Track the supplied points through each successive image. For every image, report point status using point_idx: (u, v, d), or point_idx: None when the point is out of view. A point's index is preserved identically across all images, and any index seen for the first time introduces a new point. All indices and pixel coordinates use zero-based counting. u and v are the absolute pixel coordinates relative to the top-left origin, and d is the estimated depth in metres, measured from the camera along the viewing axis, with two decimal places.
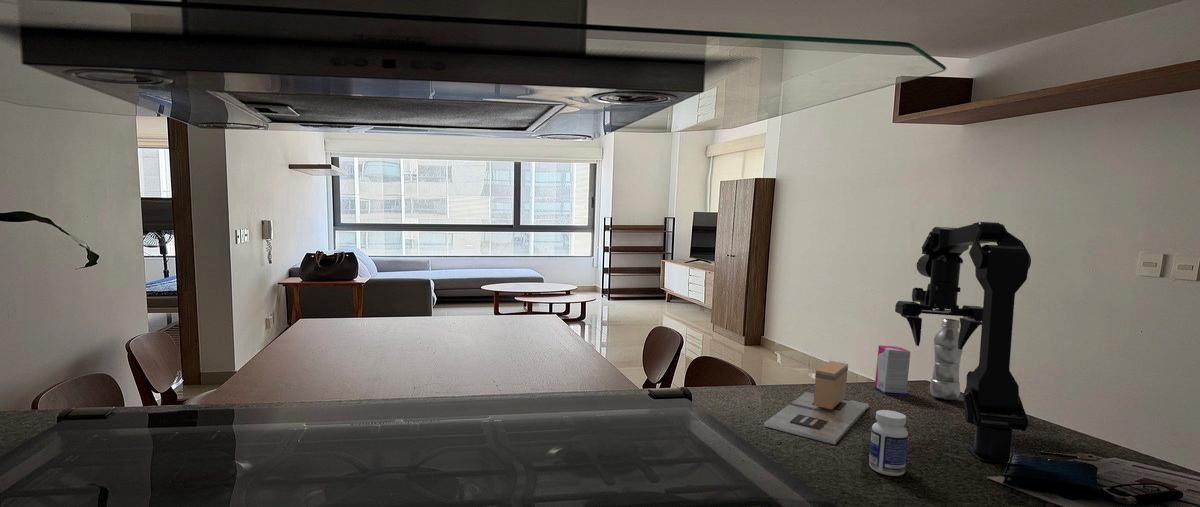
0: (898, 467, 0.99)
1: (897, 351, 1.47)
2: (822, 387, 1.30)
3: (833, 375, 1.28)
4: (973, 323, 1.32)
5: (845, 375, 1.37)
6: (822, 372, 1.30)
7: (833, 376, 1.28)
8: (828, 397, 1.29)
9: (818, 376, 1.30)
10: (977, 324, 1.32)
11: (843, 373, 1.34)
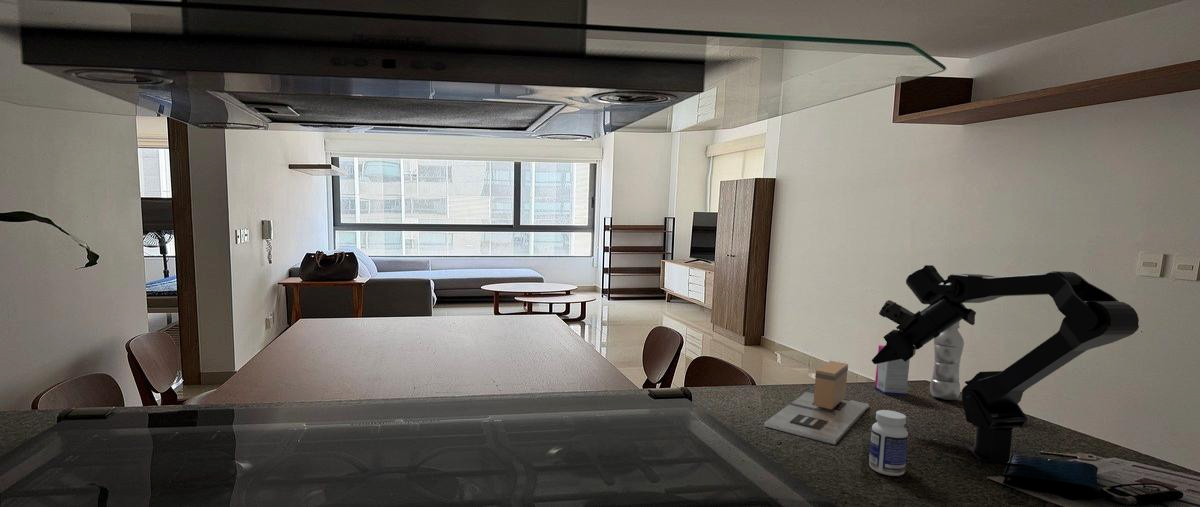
0: (898, 467, 0.99)
1: None
2: (822, 387, 1.30)
3: (833, 375, 1.28)
4: None
5: (845, 375, 1.37)
6: (822, 372, 1.30)
7: (833, 376, 1.28)
8: (828, 397, 1.29)
9: (818, 376, 1.30)
10: None
11: (843, 373, 1.34)
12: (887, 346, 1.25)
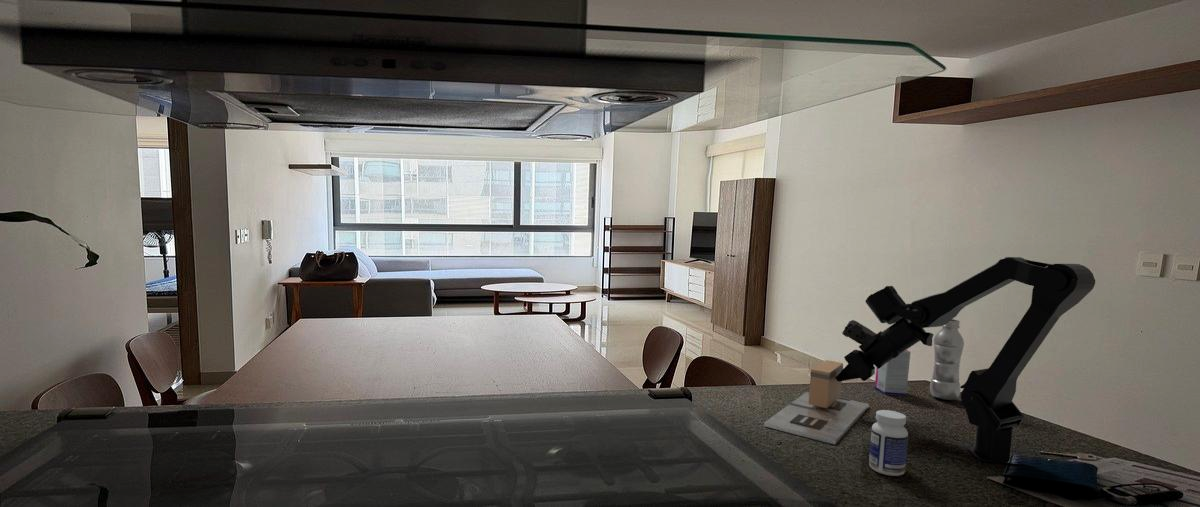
0: (898, 467, 0.99)
1: None
2: (817, 386, 1.30)
3: (828, 374, 1.29)
4: None
5: None
6: (817, 371, 1.30)
7: (828, 375, 1.29)
8: (823, 396, 1.30)
9: (813, 375, 1.31)
10: None
11: (838, 372, 1.35)
12: (849, 365, 1.30)
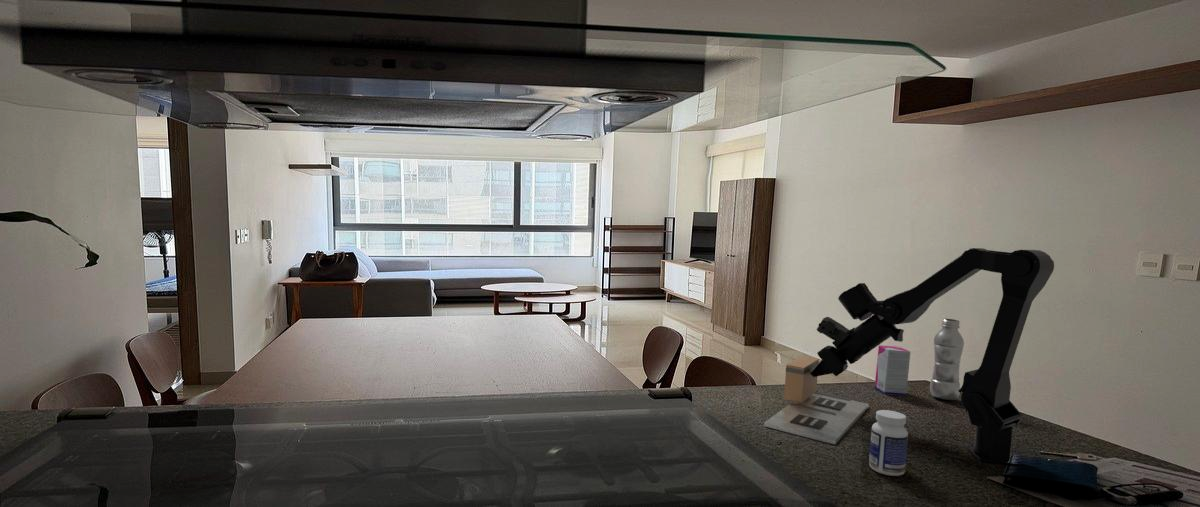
0: (898, 467, 0.99)
1: (897, 351, 1.47)
2: (792, 381, 1.33)
3: (802, 369, 1.32)
4: None
5: None
6: (792, 366, 1.33)
7: (802, 370, 1.32)
8: (797, 390, 1.33)
9: (788, 370, 1.34)
10: None
11: (813, 367, 1.38)
12: None
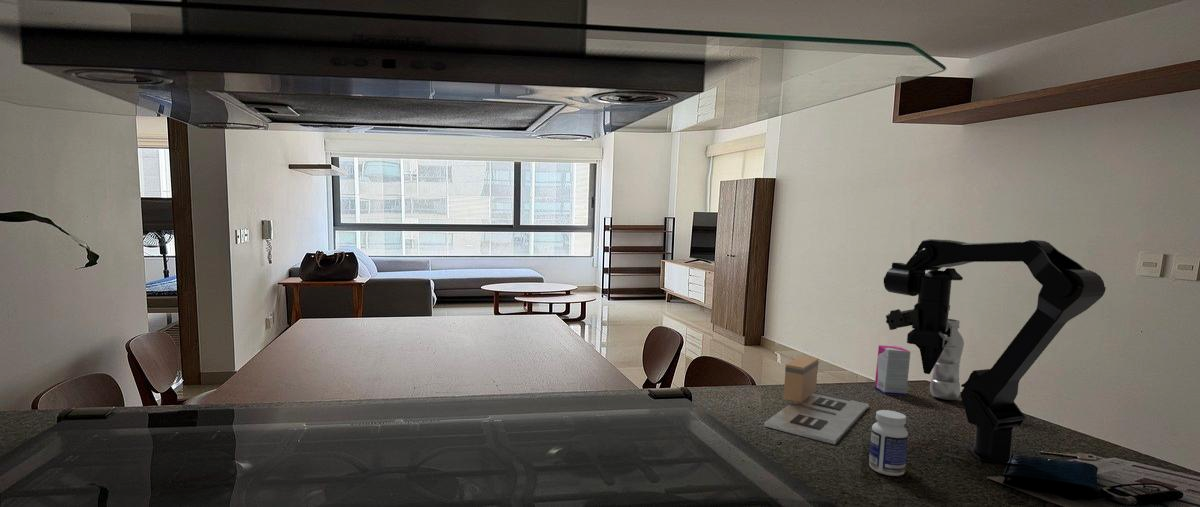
0: (898, 467, 0.99)
1: (897, 351, 1.47)
2: (792, 381, 1.34)
3: (802, 369, 1.32)
4: (946, 343, 1.21)
5: (815, 369, 1.41)
6: (791, 366, 1.33)
7: (802, 370, 1.32)
8: (797, 390, 1.33)
9: (788, 370, 1.34)
10: (946, 343, 1.22)
11: (813, 367, 1.38)
12: (922, 350, 1.21)
